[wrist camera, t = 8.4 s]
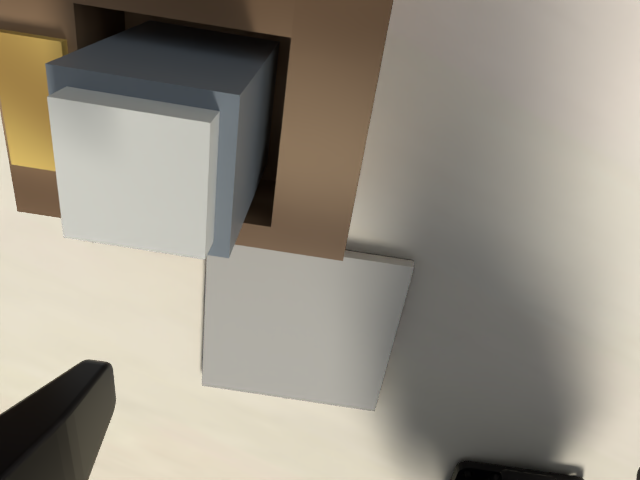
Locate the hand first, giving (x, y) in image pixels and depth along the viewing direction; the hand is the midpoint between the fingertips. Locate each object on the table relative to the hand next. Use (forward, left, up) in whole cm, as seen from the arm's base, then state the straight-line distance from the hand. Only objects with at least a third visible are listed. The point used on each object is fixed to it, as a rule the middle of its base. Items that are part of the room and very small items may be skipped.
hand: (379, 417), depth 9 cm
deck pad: (-8, +2, -12) cm, 14 cm away
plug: (+2, +5, -11) cm, 12 cm away
